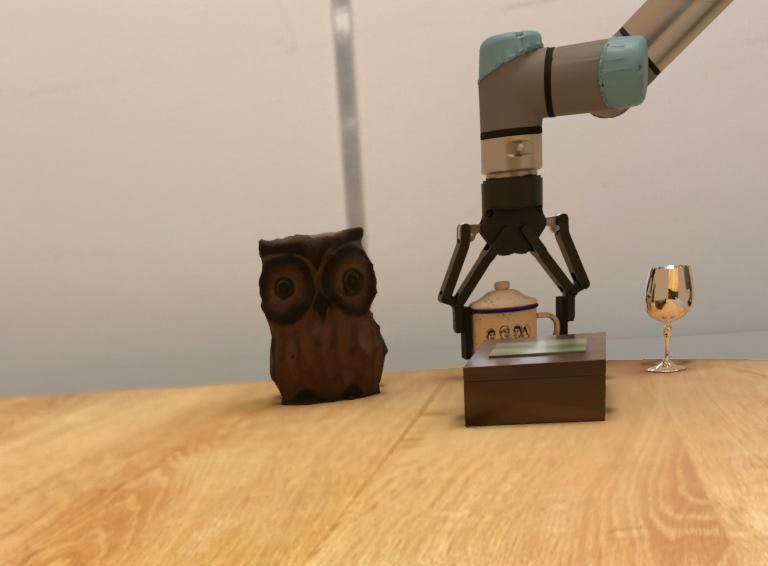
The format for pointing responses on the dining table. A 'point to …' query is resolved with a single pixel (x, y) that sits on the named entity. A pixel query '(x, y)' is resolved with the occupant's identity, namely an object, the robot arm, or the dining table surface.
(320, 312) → the owl
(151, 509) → the dining table surface
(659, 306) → the wineglass
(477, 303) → the teacup with lid
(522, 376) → the wooden keepsake box
